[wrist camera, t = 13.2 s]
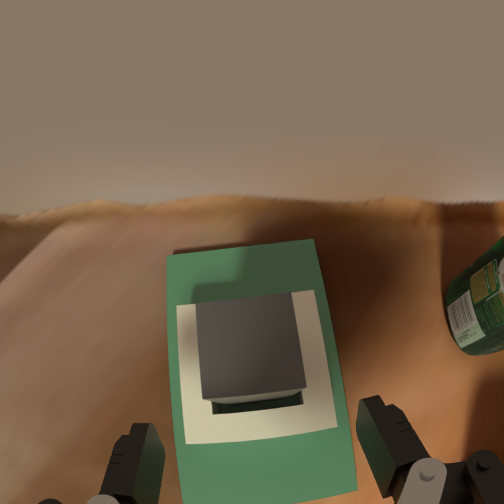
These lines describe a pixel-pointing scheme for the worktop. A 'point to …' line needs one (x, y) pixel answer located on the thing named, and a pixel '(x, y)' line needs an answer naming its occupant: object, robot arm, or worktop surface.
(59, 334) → the worktop surface
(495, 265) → the coffee jar
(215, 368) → the plug
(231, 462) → the header board
